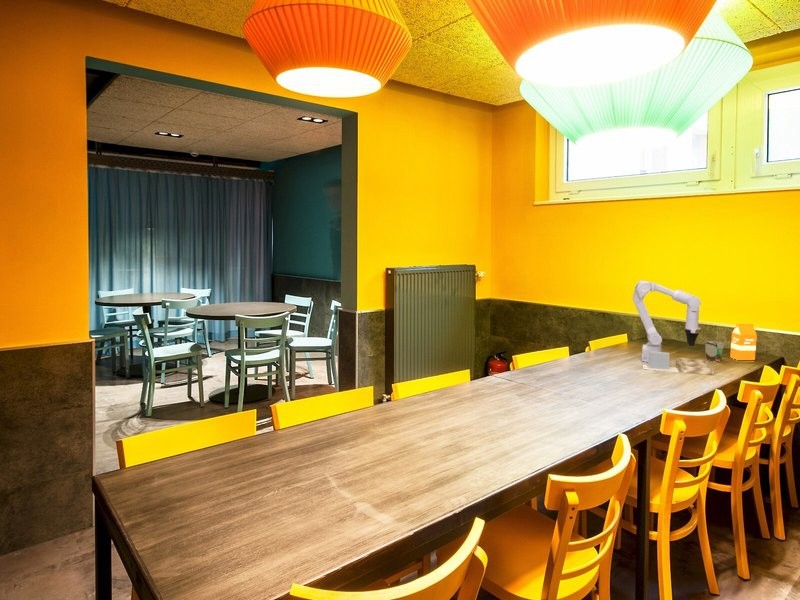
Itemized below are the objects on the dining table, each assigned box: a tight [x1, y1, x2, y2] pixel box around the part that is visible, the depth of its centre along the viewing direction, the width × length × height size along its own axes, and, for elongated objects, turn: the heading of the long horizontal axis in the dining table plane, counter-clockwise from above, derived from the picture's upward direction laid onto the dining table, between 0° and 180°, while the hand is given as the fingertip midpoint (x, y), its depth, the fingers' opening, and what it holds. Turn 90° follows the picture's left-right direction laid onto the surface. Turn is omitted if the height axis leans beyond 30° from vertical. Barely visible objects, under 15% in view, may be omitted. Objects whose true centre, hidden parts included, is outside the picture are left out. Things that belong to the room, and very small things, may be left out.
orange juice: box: [729, 323, 757, 361], centre depth 287 cm, size 8×9×20 cm
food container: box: [704, 340, 725, 363], centre depth 285 cm, size 12×6×10 cm, turn 179°
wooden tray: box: [675, 357, 715, 375], centre depth 266 cm, size 14×22×4 cm, turn 158°
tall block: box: [647, 351, 671, 370], centre depth 265 cm, size 3×9×8 cm, turn 68°
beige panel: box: [641, 364, 680, 374], centre depth 265 cm, size 16×10×1 cm, turn 68°
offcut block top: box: [689, 362, 701, 368], centre depth 259 cm, size 5×4×2 cm
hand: (690, 344), depth 276 cm, fingers open, 7 cm apart
